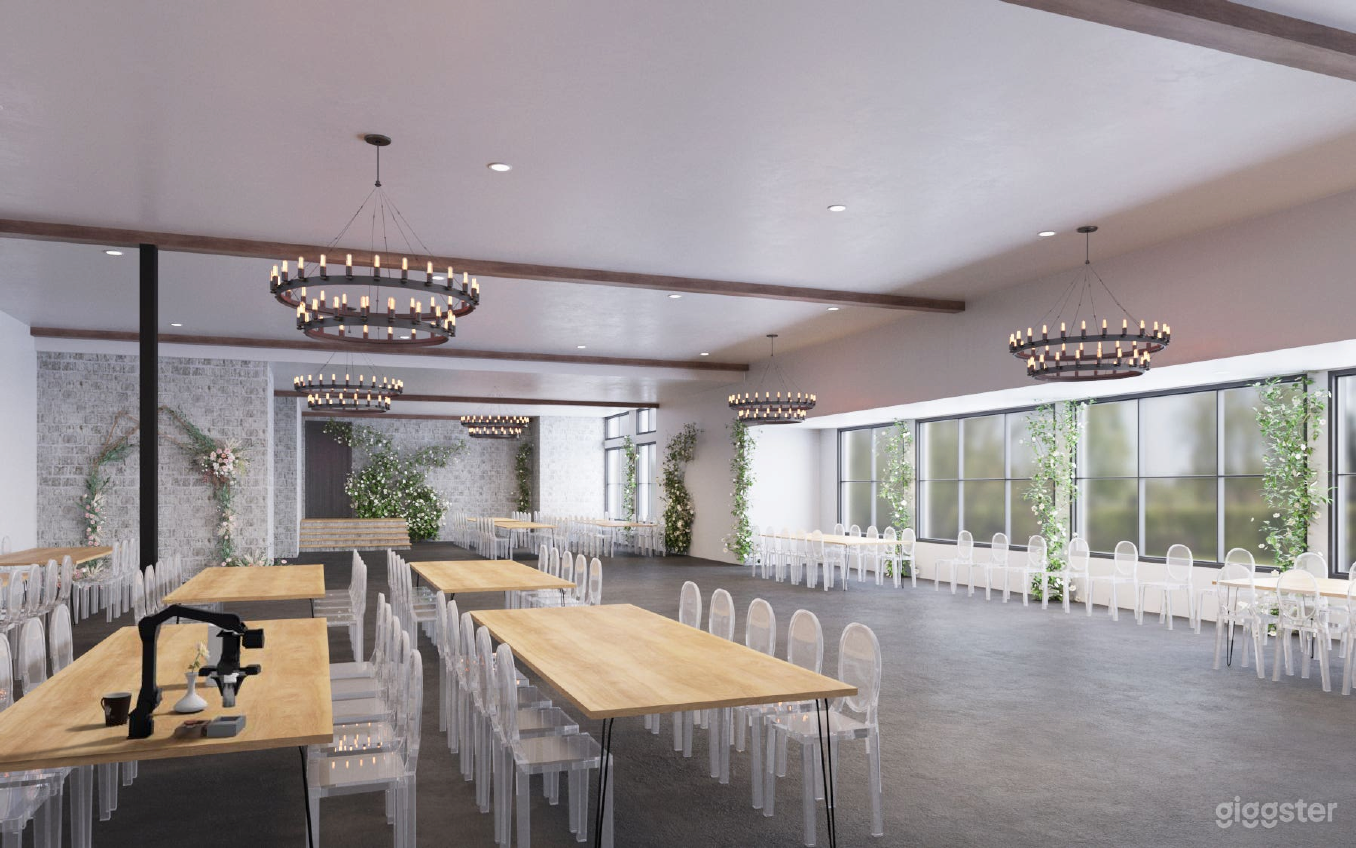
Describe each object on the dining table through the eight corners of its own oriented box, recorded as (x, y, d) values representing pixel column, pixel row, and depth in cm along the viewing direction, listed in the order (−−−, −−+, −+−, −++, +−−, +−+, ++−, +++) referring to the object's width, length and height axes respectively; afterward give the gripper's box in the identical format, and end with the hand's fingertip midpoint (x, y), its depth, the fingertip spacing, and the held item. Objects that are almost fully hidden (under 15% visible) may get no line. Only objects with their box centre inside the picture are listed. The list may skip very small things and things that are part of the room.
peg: (220, 708, 313) (221, 684, 313) (224, 705, 317) (225, 681, 317) (233, 707, 314) (234, 683, 314) (236, 705, 318) (237, 681, 318)
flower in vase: (192, 715, 336) (195, 645, 338) (165, 713, 338) (168, 644, 340) (217, 707, 349) (220, 640, 350) (191, 705, 351) (193, 639, 353)
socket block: (174, 738, 305) (174, 729, 305) (186, 729, 316) (186, 720, 316) (200, 737, 306) (200, 728, 306) (211, 728, 318) (211, 719, 318)
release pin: (181, 735, 306) (181, 722, 306) (185, 732, 309) (185, 719, 310) (194, 734, 306) (194, 722, 307) (198, 731, 310) (198, 719, 311)
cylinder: (233, 679, 400) (236, 621, 401) (241, 684, 390) (244, 624, 392) (202, 683, 392) (204, 623, 393) (209, 688, 382) (212, 626, 384)
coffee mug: (133, 724, 323) (134, 695, 323) (105, 728, 317) (106, 699, 317) (125, 718, 331) (126, 690, 332) (97, 722, 325) (98, 693, 326)
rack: (206, 737, 306) (207, 725, 307) (217, 728, 318) (218, 716, 318) (235, 736, 308) (236, 724, 308) (245, 727, 320) (246, 715, 320)
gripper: (194, 654, 307) (191, 702, 306) (253, 653, 310) (252, 700, 309) (204, 648, 318) (202, 695, 317) (262, 647, 321) (260, 693, 320)
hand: (229, 696), depth 315 cm, fingers closed on peg, 4 cm apart
